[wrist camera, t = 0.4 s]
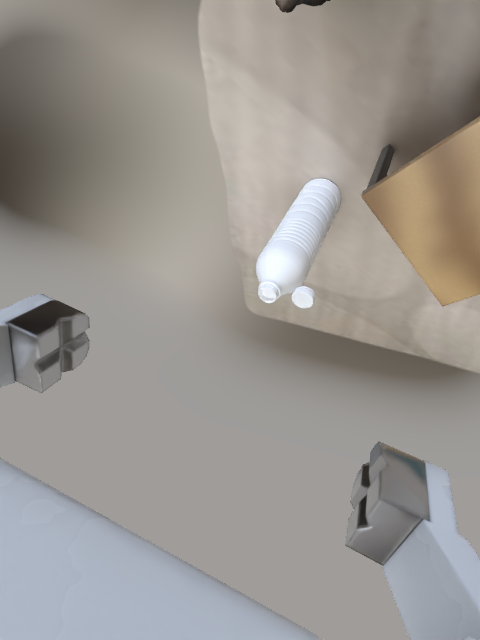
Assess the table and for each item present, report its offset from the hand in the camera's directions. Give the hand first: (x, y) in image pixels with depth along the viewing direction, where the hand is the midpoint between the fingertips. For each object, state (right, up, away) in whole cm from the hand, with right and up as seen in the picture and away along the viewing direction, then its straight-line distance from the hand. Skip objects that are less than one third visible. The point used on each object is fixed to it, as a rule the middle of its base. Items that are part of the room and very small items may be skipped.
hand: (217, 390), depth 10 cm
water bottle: (+14, +21, +49) cm, 55 cm away
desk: (+30, +21, +39) cm, 53 cm away
